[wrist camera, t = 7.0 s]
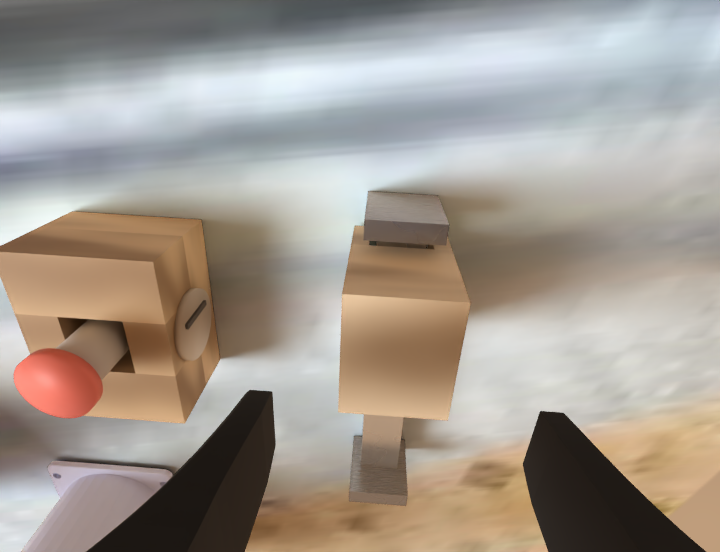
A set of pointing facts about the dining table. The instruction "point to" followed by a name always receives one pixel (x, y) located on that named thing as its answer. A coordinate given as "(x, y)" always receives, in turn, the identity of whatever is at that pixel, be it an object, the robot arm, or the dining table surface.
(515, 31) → the dining table surface
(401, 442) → the rail
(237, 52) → the dining table surface
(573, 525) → the robot arm
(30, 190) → the dining table surface
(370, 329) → the block
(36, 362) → the plunger
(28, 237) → the wooden box with dial
